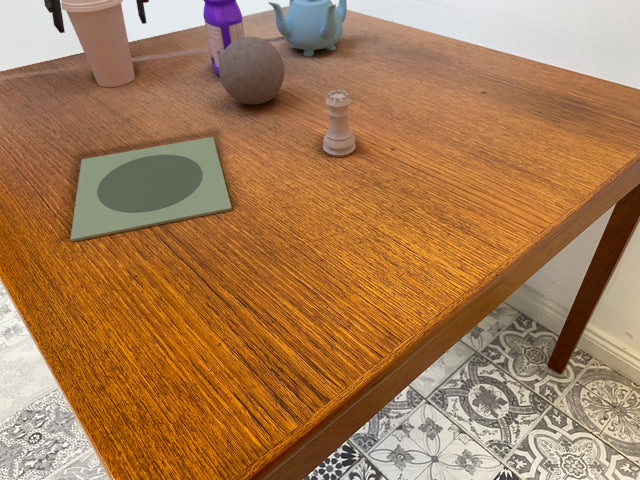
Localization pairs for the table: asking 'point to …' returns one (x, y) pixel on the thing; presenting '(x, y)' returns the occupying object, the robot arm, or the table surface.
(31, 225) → the table surface
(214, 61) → the bottle
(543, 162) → the table surface
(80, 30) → the coffee cup
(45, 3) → the robot arm
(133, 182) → the mat
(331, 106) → the rook chess piece
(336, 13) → the teapot
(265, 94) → the decorative ball
